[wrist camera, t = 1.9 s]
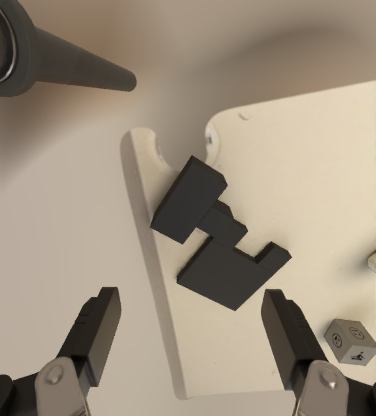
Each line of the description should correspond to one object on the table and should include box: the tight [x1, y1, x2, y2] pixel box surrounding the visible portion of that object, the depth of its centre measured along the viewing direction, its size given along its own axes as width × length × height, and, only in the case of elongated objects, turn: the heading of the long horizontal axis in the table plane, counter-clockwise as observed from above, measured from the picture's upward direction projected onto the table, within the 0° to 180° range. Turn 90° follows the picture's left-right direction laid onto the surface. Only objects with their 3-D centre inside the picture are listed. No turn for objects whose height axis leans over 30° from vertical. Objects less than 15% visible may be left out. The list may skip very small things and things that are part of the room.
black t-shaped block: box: [150, 156, 234, 244], centre depth 30 cm, size 10×8×4 cm
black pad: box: [177, 219, 292, 311], centre depth 36 cm, size 12×14×2 cm
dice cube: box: [324, 319, 376, 366], centre depth 41 cm, size 5×5×5 cm
